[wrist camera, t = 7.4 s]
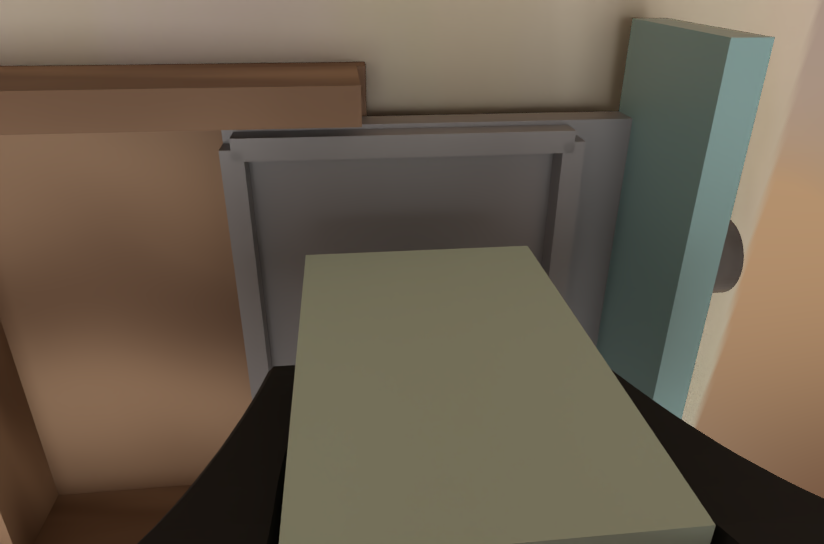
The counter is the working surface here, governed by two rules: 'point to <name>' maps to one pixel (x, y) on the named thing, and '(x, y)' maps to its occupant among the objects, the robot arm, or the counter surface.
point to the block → (465, 413)
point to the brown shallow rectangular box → (127, 281)
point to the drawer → (525, 201)
